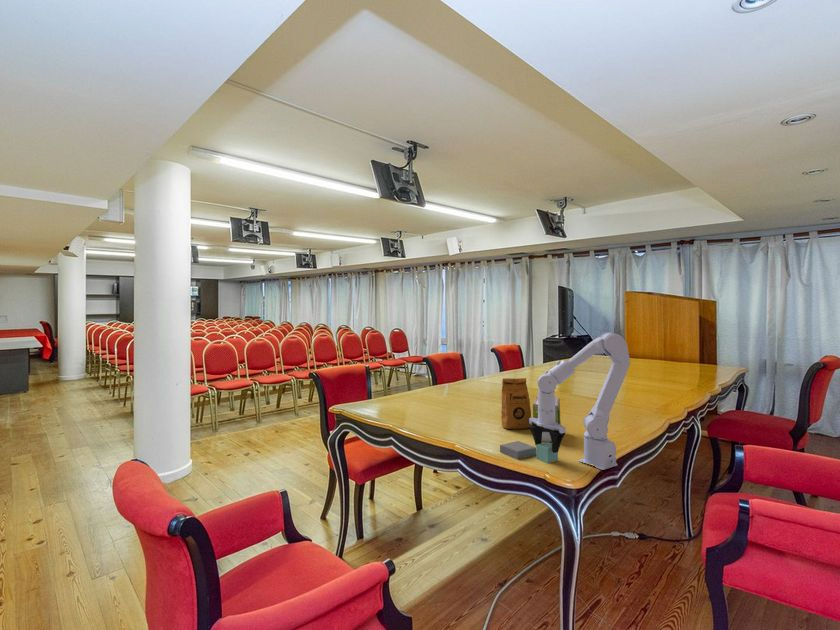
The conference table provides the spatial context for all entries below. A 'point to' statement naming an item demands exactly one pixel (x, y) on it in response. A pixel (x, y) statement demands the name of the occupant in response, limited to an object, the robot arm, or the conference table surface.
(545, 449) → the teal cube
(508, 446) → the slate plinth
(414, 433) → the conference table surface
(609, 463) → the robot arm
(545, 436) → the tea box
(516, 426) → the coffee package
